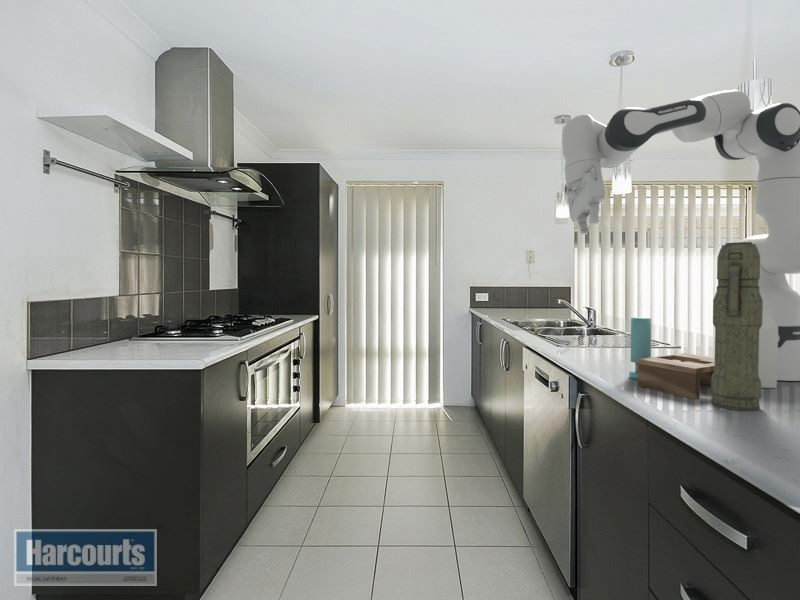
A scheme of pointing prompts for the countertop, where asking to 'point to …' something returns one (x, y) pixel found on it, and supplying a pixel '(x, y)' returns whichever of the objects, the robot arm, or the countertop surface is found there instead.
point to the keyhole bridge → (676, 373)
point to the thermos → (737, 328)
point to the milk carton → (768, 351)
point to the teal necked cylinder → (640, 342)
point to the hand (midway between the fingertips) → (589, 228)
